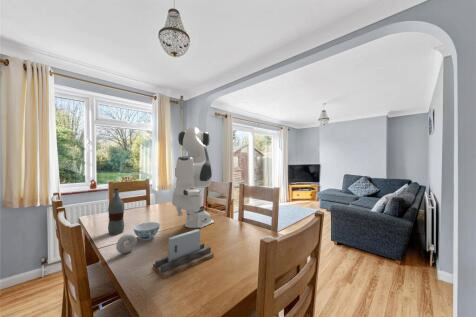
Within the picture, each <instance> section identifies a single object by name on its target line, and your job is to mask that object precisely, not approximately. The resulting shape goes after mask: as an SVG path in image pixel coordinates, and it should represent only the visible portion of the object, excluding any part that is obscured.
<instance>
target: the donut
mask: <svg viewBox="0 0 476 317" xmlns="http://www.w3.org/2000/svg"><path fill="white" fill-rule="evenodd" d="M127 241H129V243H128V245H126V246H125V243H126V242H127ZM137 242H138V240H137V237H136V236H135V235H134V234H132V233H126V234H124V235H121V236H120V238H119V239H118V240H117V241H116V245H115V247H116V250H117V252H118V253H120V254H125V255H126V254H128V253H130V252H131V251H133V250H134V248H135V247H136V245H137Z"/></svg>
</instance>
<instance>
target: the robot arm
mask: <svg viewBox="0 0 476 317" xmlns="http://www.w3.org/2000/svg"><path fill="white" fill-rule="evenodd" d="M177 142H178V145H180V146H182V148H183V150H184V151H185V152H187V155H186V156H185V155H183V156H179V157H177V159H176V164H175V165H176V166H175V172H174V174H175V176H174V177H175V178H176V181H175V188H174V190H173V192H172V197H171V199H172V201H171V204H172V206H174V207H176V208H175V209H176V210H177V211H176V212H177V216H178V217H182V216H183V211H182V210H184V211H186V216H185V217H186V219H185V223H184V227H186V228H190V229H203V228H204V226H205V227H207V226H209V224H210V225H212V224H214V223H215V221H214V220H213V219H212V218H211V214H210V213H209V212H207V211H206V209H207V206H206V205H203V197H202V194H201V190H200V188H203V189H204V188H207V187H210V186H211V184H212V180H213V179H212V178H213V177H212V176H213V168H212V166H211V162H210V161H211V160H210V158H209V154H208V153H209V151H208V149H207V147H208V146H209V145H210V142H211V136H210V134H209V132H208V131H207V132H206V131H201V130H200V129H199V128H198V127H195V126H190V127H188V128H187V129H186V130H183V131H180V132H179V133H178V135H177ZM211 223H212V224H211Z"/></svg>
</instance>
